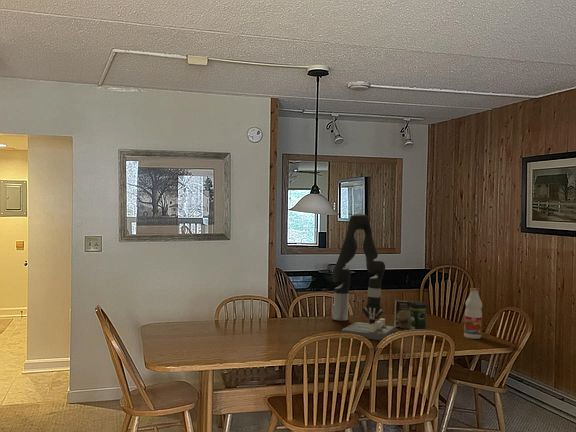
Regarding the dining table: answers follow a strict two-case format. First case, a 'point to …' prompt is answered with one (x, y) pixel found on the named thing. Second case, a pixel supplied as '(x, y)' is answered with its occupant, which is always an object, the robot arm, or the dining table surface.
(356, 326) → the grey flat square slab
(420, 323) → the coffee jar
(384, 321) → the breaker far
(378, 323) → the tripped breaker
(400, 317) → the coffee box
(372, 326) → the breaker near
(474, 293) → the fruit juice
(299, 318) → the dining table surface
